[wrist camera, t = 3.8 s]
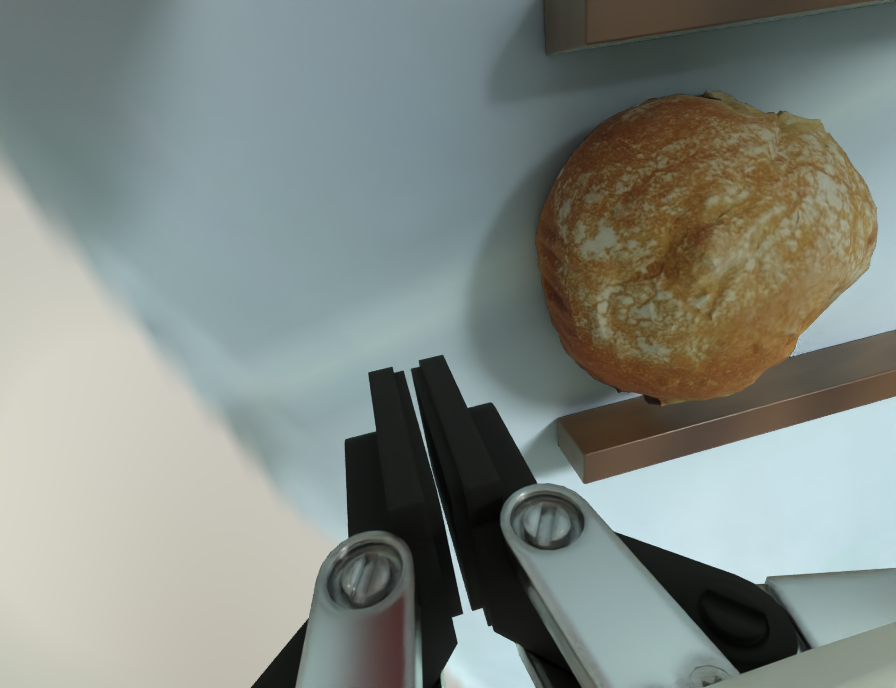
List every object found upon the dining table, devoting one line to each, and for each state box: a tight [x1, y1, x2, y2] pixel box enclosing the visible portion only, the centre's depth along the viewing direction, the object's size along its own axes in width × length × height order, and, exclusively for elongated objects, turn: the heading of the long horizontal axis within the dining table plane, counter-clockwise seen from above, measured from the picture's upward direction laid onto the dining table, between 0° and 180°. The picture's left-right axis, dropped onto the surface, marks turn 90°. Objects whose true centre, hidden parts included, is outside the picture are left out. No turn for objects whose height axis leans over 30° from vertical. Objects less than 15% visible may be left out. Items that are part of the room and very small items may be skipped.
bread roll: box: [536, 91, 878, 407], centre depth 15 cm, size 10×10×8 cm
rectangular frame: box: [544, 0, 896, 484], centre depth 17 cm, size 23×17×3 cm
